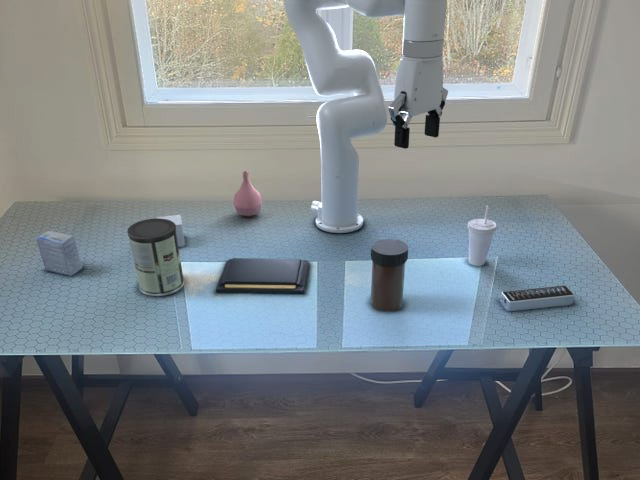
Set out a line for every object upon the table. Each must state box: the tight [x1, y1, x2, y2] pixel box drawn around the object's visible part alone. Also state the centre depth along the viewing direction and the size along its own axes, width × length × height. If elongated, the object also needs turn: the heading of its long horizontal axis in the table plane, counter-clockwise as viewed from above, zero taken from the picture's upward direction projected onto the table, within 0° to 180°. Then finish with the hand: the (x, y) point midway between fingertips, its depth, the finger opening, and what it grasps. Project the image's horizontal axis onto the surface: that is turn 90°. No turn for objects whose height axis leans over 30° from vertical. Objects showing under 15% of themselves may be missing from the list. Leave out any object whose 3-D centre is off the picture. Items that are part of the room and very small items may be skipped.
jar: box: [370, 260, 407, 313], centre depth 134 cm, size 7×7×13 cm
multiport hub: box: [499, 284, 576, 312], centre depth 136 cm, size 4×14×2 cm, turn 99°
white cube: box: [156, 214, 186, 248], centre depth 163 cm, size 6×6×6 cm
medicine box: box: [35, 230, 83, 277], centre depth 151 cm, size 8×4×9 cm, turn 65°
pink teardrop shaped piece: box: [233, 170, 263, 218], centre depth 174 cm, size 8×8×12 cm
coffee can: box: [126, 217, 185, 297], centre depth 142 cm, size 10×10×14 cm
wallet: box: [215, 257, 310, 295], centre depth 148 cm, size 20×2×15 cm
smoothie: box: [467, 205, 498, 267], centre depth 148 cm, size 6×6×14 cm
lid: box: [370, 238, 409, 267], centre depth 131 cm, size 7×7×3 cm
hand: (416, 141), depth 131 cm, fingers open, 9 cm apart
